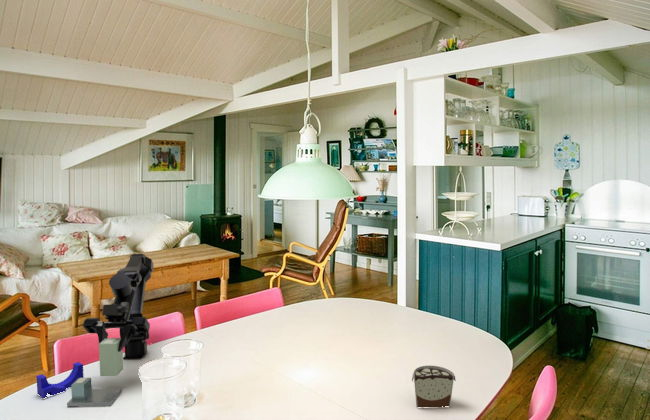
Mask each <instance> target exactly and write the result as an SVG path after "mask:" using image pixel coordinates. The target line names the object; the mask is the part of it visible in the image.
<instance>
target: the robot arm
mask: <svg viewBox="0 0 650 420" xmlns="http://www.w3.org/2000/svg"><path fill="white" fill-rule="evenodd" d="M153 272H154V262H153V260H152V258H149V257H148V256H147V255H146V254H145V253H132V254H130V256H129V259H128V262H127V263H126V265H125V267H123V268H120V269H119V270H118V271H117V272H116V274H114V275H112V276H111V277H110V279H109V280H108V284H109V287H110V289H111V292H112V294H113V296H114V300H113V303H111V304H103V305H102V313H101V316H105V317H104V319H105V320H107V321H103V320H101V319H100V318H99V317H86V319H84V320H83V322H82V327H83V328H84V329H85V331H86V332H87V333H88V334H96V335H97V338H98V345H99V344H100V343H101V342H102V341H103V340H104V339H105V338H109V333H108V332H107V329H119V338H121V340H120V343H119V347H118V352H120V351H121V350H123V348H124V355H123V360H141V359H143V358H144V356H145V355H147V353H148V342H147V340H148V339H150V328H151V324H150V323H149V321H148V319H147V318H146V317H145V316H143V307H144V300H145V292H146V285H147V282H148V281H149V280H150V279H151V277H152V273H153Z"/></svg>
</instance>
